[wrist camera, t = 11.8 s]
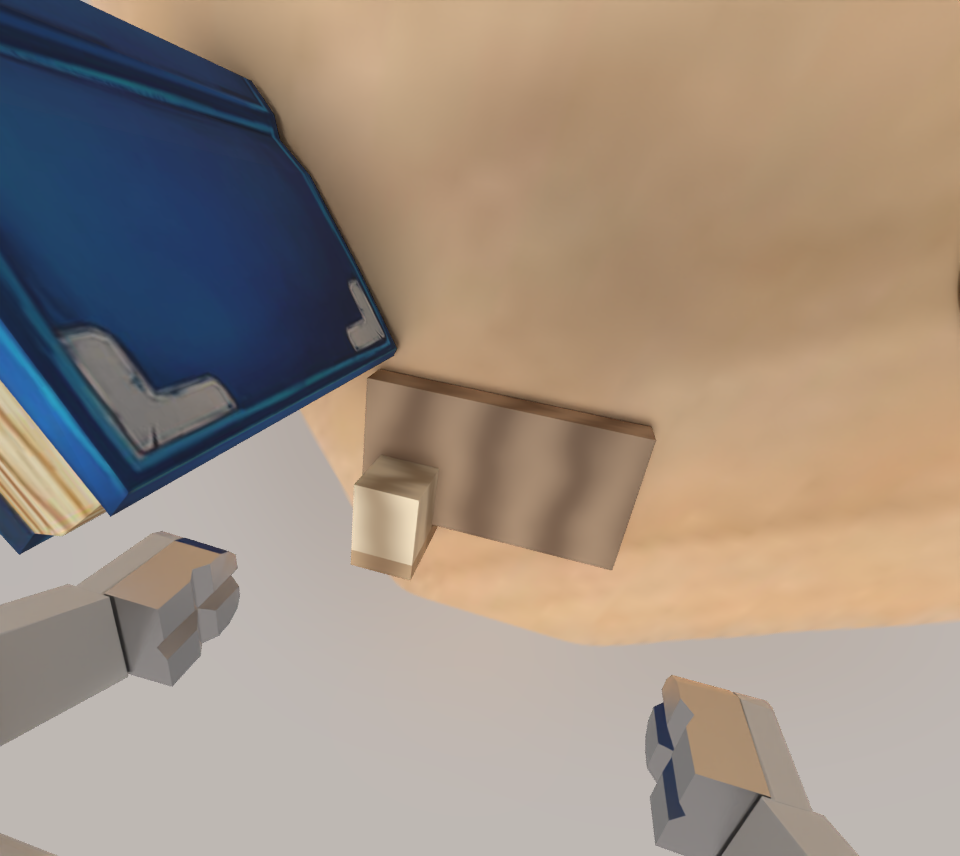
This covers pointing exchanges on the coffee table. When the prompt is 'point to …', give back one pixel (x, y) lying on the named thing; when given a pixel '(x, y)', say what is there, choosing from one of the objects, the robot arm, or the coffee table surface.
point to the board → (513, 464)
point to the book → (150, 269)
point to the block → (393, 516)
